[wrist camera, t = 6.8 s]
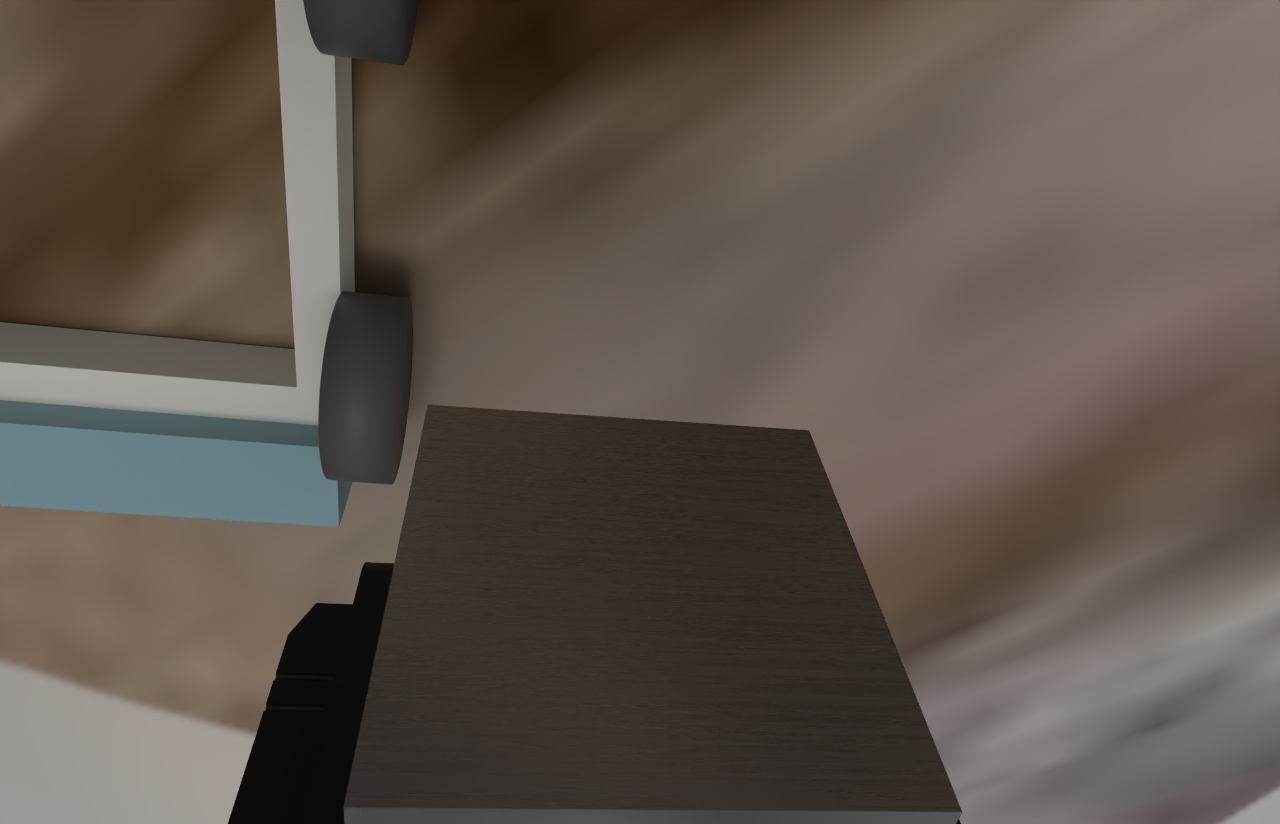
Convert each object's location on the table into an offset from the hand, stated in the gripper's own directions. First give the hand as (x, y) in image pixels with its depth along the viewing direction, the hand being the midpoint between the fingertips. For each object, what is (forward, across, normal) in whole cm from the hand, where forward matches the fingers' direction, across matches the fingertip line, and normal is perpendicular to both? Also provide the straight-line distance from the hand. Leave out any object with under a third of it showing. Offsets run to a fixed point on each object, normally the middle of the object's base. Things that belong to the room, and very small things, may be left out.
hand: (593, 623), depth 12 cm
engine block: (0, 0, 0) cm, 0 cm away
